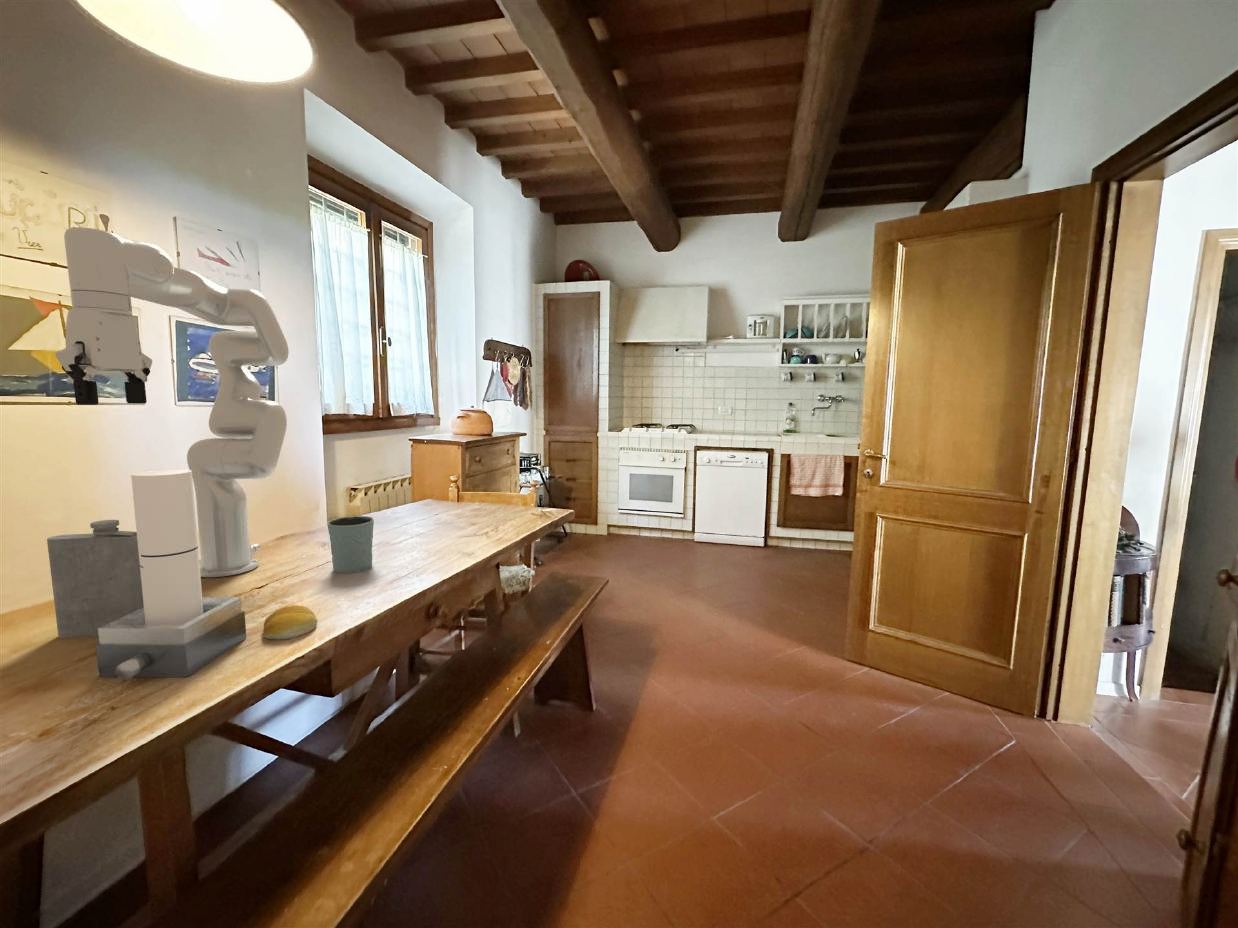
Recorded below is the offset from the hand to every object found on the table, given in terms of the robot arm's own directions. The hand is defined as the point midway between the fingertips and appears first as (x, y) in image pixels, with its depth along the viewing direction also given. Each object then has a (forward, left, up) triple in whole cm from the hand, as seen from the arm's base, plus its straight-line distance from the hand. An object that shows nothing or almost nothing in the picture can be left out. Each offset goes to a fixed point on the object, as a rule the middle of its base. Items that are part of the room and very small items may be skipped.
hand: (113, 404), depth 94 cm
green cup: (-30, +26, -40) cm, 57 cm away
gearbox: (+16, +19, -40) cm, 47 cm away
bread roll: (+4, +31, -41) cm, 51 cm away
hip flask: (+6, +1, -40) cm, 41 cm away
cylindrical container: (+14, +19, -35) cm, 43 cm away
